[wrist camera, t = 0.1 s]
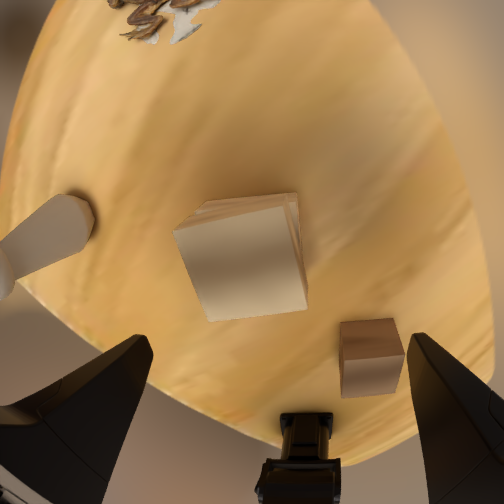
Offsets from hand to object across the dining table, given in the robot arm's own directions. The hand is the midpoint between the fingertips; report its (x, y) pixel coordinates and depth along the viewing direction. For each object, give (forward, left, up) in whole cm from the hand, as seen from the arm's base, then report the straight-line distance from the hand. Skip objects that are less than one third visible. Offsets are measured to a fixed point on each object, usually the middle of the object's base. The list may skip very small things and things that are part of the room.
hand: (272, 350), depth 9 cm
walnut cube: (-13, -6, -15) cm, 21 cm away
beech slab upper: (-2, +3, -12) cm, 13 cm away
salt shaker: (+2, +20, -15) cm, 25 cm away
